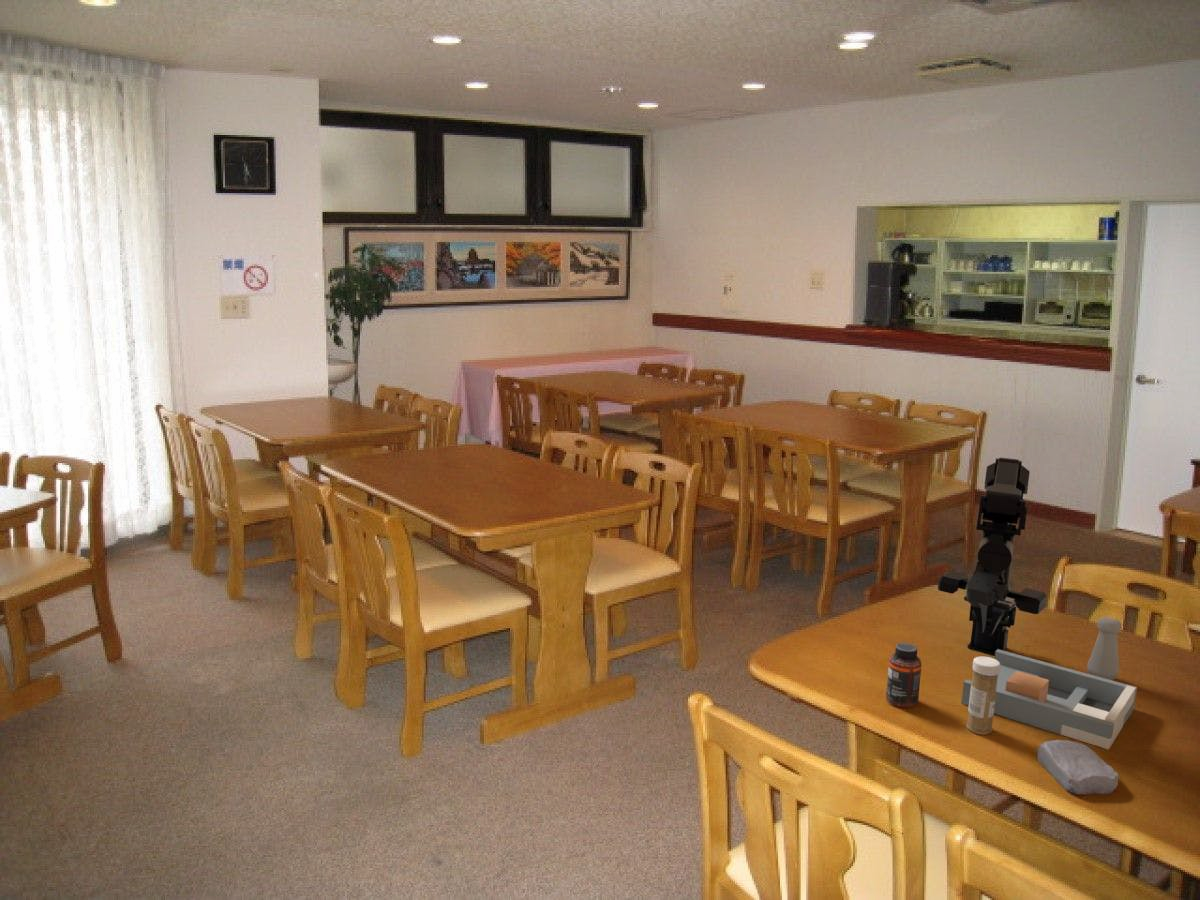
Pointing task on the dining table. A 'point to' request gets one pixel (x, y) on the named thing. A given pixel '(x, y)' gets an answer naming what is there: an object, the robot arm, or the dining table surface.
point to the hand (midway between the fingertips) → (986, 633)
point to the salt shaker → (1105, 650)
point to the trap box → (1063, 700)
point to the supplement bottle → (904, 676)
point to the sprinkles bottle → (982, 695)
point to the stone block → (1077, 767)
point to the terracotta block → (1028, 686)
